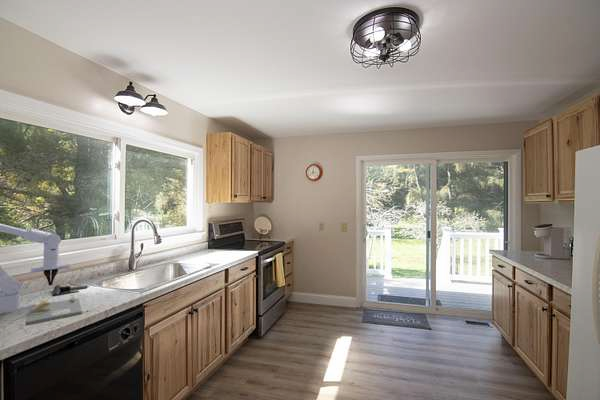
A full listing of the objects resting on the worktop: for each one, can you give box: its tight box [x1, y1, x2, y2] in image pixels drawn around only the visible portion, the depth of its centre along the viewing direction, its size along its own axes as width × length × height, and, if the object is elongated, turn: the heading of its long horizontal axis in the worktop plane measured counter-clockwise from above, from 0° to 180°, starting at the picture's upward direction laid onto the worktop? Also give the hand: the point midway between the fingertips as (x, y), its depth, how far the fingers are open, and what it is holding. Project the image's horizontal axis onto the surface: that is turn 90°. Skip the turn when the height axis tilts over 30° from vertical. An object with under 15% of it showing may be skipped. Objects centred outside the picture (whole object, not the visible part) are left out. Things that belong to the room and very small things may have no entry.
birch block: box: [35, 299, 52, 313], centre depth 126 cm, size 5×5×4 cm
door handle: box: [51, 284, 88, 297], centre depth 156 cm, size 3×20×16 cm
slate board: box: [25, 296, 83, 327], centre depth 127 cm, size 18×23×3 cm
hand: (50, 284), depth 138 cm, fingers closed
